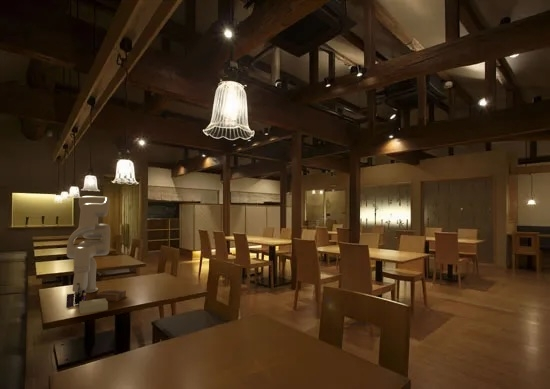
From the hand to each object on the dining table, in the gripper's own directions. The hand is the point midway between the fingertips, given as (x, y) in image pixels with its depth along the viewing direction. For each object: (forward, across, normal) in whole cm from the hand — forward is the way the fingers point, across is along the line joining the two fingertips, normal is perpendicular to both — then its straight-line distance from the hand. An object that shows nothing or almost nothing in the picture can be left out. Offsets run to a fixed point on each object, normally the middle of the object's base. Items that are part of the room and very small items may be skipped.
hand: (80, 301), depth 169 cm
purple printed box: (+2, +2, -1) cm, 3 cm away
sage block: (+2, +11, +9) cm, 15 cm away
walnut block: (+2, -8, +14) cm, 16 cm away
